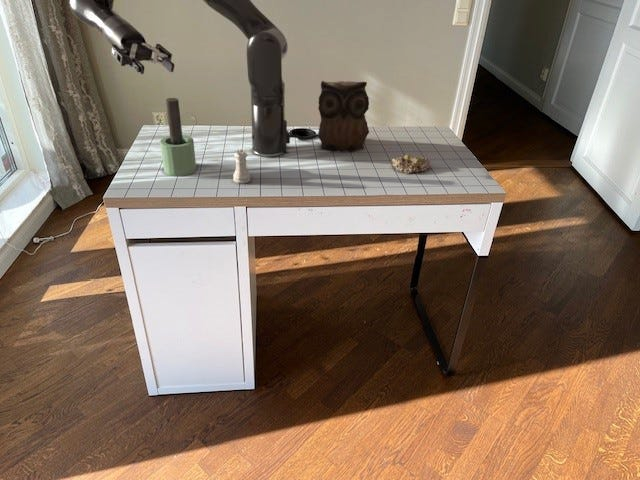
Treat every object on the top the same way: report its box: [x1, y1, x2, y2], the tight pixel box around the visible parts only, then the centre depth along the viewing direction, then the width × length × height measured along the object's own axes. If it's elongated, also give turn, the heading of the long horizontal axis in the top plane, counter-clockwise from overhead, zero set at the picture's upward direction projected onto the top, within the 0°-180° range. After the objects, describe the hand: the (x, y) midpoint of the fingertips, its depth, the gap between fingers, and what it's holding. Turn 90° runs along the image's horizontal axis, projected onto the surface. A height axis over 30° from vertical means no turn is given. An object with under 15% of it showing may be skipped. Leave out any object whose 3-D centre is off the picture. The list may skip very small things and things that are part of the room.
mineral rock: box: [391, 153, 431, 174], centre depth 137 cm, size 11×4×8 cm
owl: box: [317, 80, 370, 153], centre depth 143 cm, size 13×13×20 cm
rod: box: [165, 97, 183, 145], centre depth 125 cm, size 4×4×18 cm
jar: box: [159, 134, 197, 177], centre depth 128 cm, size 8×8×8 cm
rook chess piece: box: [232, 149, 251, 185], centre depth 124 cm, size 4×4×8 cm
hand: (158, 69), depth 123 cm, fingers open, 8 cm apart
